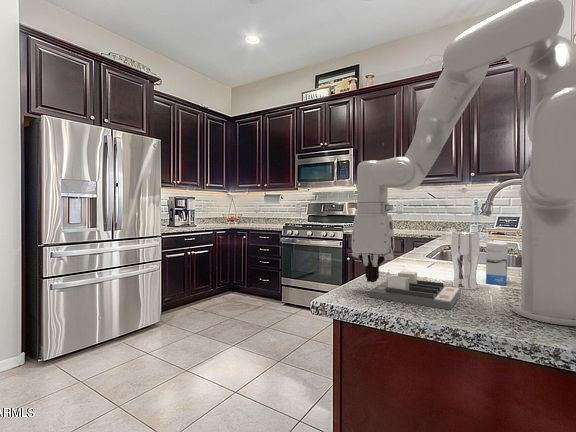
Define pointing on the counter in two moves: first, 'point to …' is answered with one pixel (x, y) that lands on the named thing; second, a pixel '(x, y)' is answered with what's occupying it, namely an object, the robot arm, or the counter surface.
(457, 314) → the counter surface
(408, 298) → the switch panel
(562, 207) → the robot arm
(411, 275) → the tab
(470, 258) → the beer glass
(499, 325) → the counter surface
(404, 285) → the tab
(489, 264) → the ink box
